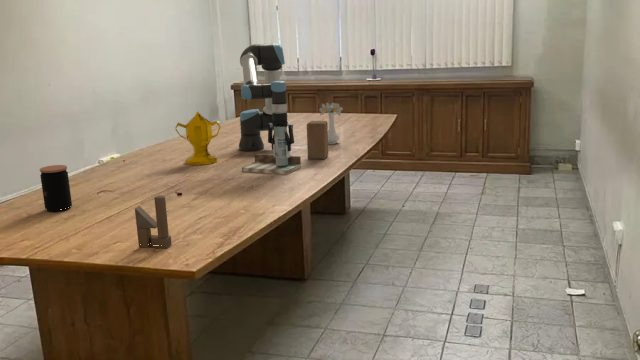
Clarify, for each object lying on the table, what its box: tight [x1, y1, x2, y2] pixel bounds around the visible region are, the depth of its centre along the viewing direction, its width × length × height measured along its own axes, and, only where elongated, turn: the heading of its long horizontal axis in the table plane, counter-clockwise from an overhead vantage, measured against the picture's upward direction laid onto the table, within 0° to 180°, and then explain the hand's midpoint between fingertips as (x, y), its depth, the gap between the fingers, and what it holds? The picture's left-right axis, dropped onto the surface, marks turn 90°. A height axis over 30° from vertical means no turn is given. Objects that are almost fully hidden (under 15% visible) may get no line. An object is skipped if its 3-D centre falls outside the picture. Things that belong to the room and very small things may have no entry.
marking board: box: [241, 153, 302, 175], centre depth 330 cm, size 26×16×6 cm, turn 67°
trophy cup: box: [175, 111, 222, 166], centre depth 350 cm, size 18×24×28 cm
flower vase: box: [318, 102, 344, 145], centre depth 393 cm, size 13×18×25 cm
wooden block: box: [306, 120, 329, 160], centre depth 353 cm, size 10×10×20 cm
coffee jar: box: [39, 164, 73, 213], centre depth 269 cm, size 11×11×18 cm
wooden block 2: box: [134, 195, 172, 249], centre depth 219 cm, size 4×11×18 cm, turn 80°
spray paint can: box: [273, 126, 288, 166], centre depth 325 cm, size 6×6×20 cm
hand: (281, 156), depth 327 cm, fingers closed on spray paint can, 6 cm apart
